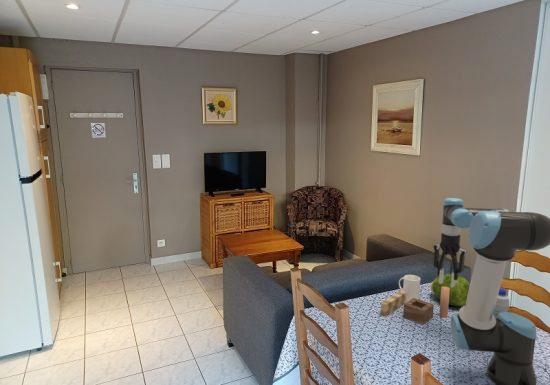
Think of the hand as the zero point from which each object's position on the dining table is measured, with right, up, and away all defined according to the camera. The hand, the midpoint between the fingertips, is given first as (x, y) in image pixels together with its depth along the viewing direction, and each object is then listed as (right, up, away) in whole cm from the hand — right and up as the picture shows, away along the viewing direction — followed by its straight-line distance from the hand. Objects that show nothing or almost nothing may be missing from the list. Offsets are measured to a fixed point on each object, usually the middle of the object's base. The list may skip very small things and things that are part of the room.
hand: (446, 284), depth 174 cm
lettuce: (+14, -16, +28) cm, 35 cm away
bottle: (+21, -21, -2) cm, 30 cm away
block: (-9, -18, +11) cm, 23 cm away
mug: (-6, -15, +32) cm, 36 cm away
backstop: (-18, -17, +20) cm, 31 cm away
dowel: (+4, -18, +13) cm, 22 cm away
